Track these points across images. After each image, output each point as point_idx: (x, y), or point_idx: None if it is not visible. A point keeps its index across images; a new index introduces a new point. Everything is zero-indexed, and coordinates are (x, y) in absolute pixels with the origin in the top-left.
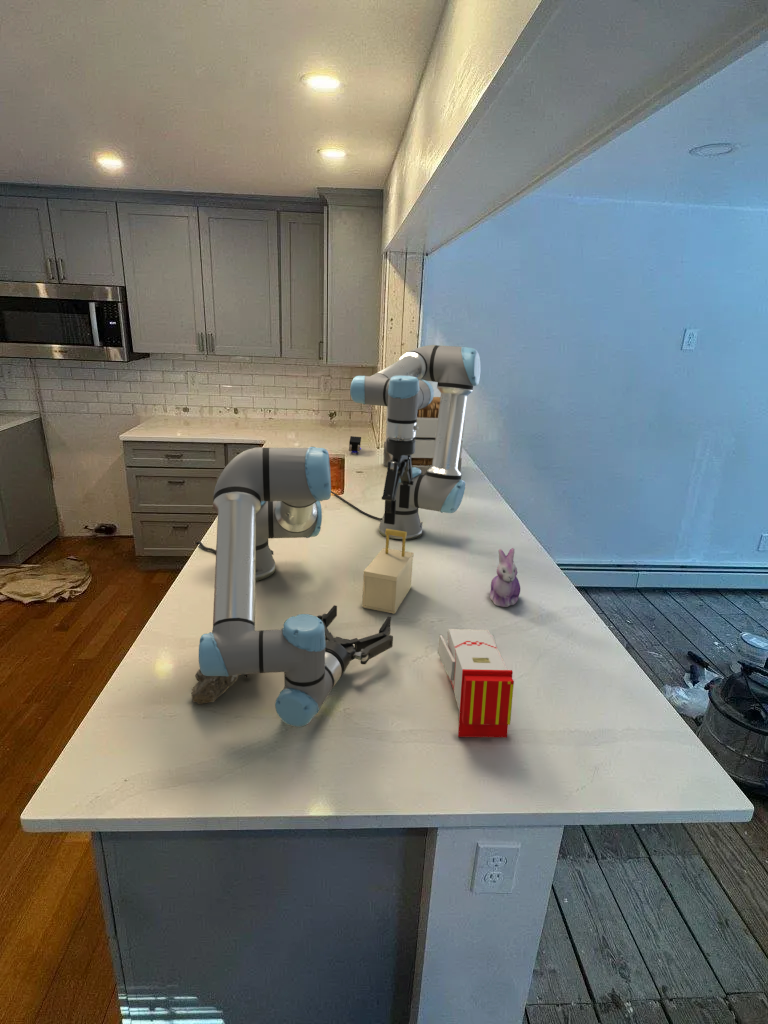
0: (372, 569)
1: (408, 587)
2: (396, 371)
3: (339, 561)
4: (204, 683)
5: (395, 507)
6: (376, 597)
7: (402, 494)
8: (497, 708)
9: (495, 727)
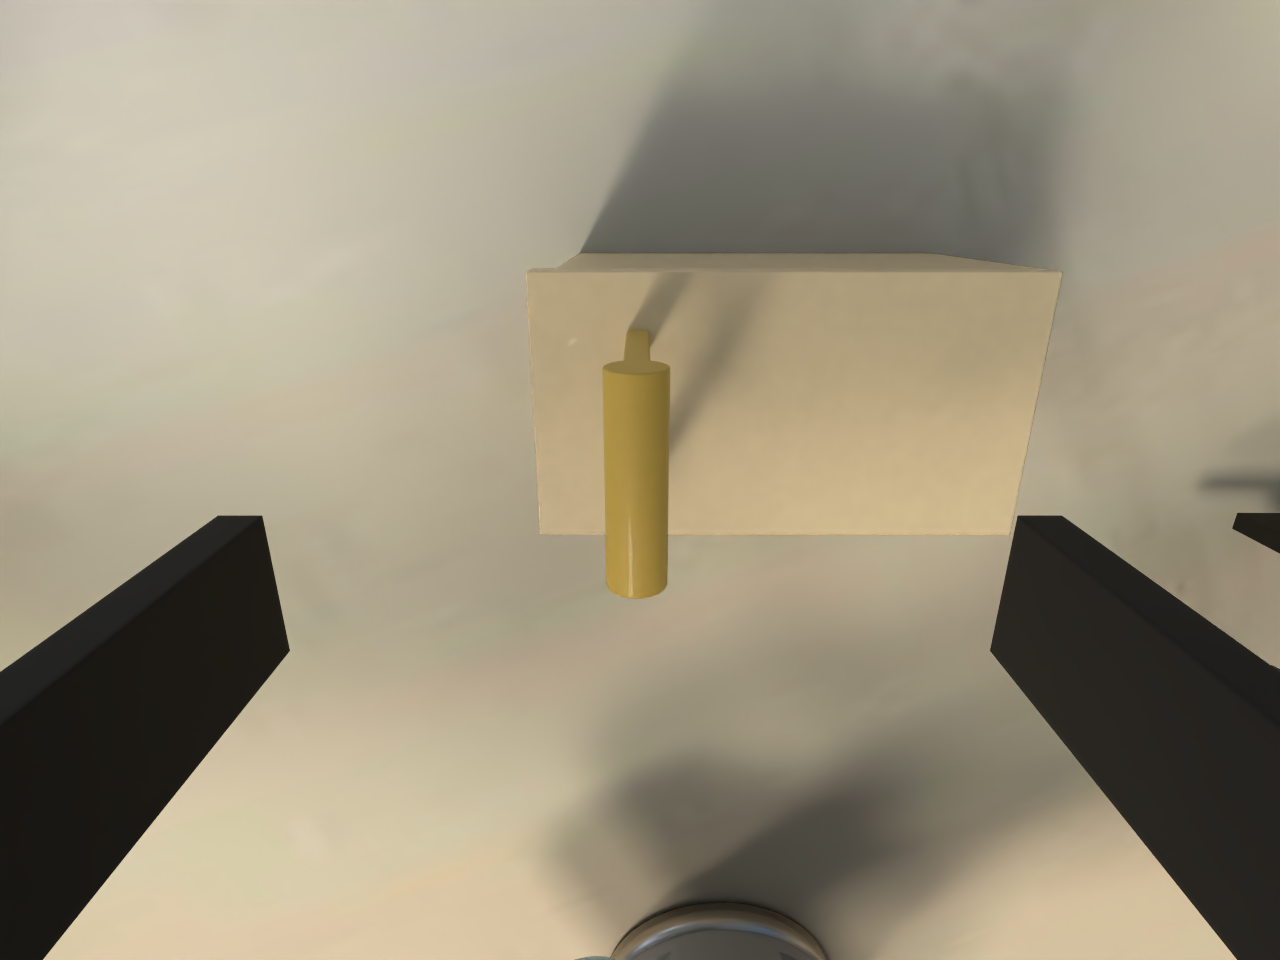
0: (966, 487)
1: (639, 255)
2: None
3: (443, 715)
4: None
5: (1245, 681)
6: None
7: (136, 772)
8: None
9: None
